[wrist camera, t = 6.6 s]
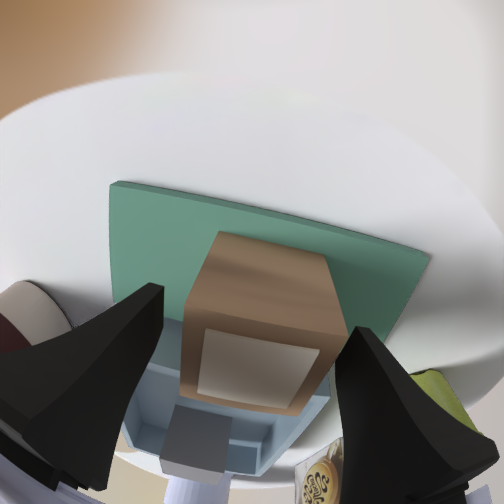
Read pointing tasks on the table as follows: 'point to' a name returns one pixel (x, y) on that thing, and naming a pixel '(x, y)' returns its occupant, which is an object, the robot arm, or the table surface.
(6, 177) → the table surface
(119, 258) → the mat
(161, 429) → the bin
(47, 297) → the coffee cup
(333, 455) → the coffee box
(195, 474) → the plain block
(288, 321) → the labelled block
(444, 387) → the plant pot
